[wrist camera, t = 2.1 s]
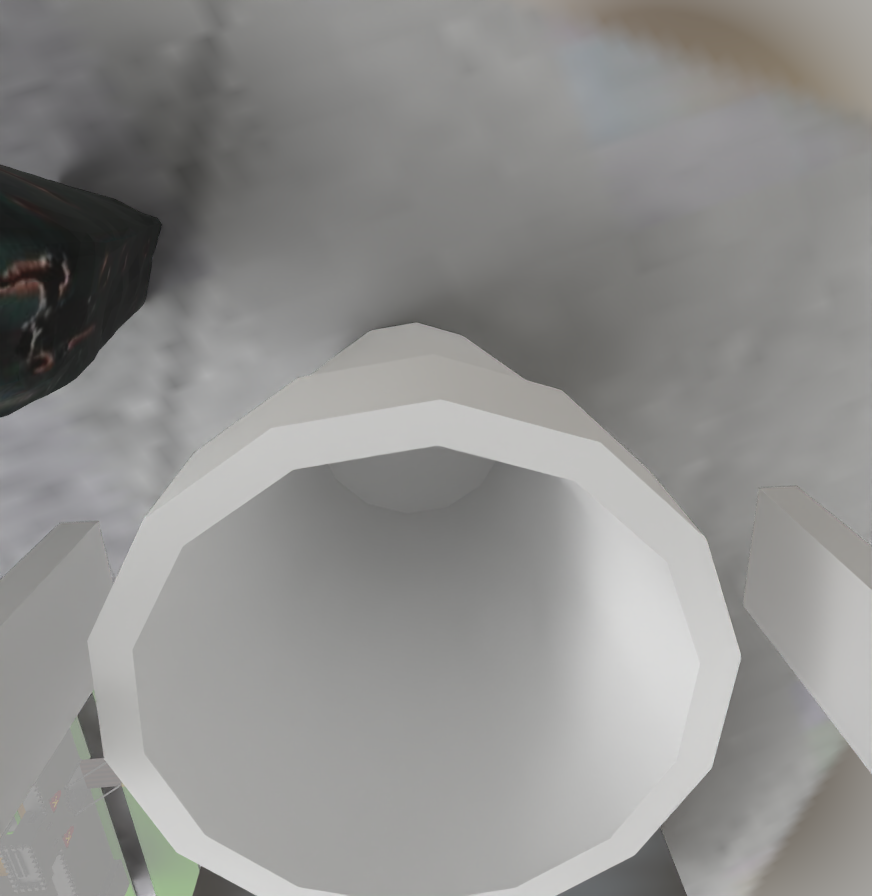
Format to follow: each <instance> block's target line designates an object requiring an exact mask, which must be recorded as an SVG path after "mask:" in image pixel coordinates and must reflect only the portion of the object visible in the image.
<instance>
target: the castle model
mask: <svg viewBox="0 0 872 896" xmlns="http://www.w3.org/2000/svg"><path fill="white" fill-rule="evenodd" d="M92 693H93V696H94V699H95V692H94V690H93V691H92ZM95 702H96V699H95ZM90 758H91V756H90V753H89V750H88V747H87V744H86V741H85V738H84V735H83V732H82V729H81V726H80V723H79V719H78V716H77V717H76V718H75V720H74V721H73V723H72V725H71V726H70V728H69V729H68V731H67V733H66V734H65V736H64V737H63V739H62V740H61V742H60V744H59V745H58V747H57V748H56V750H55V752H54V753H53V755H52V756H51V758H50V759H49V761H48V763H47V764H46V766H45V767H44V769H43V771H42V772H41V774H40V775H39V777H38V778H37V780H36V782H35V783H34V785H33V786H32V788H31V790H30V791H29V793H28V794H27V796H26V797H25V799H24V801H23V802H22V804H21V805H20V807H19V809H18V810H17V812H16V813H15V815H14V817H13V818H12V820H11V821H10V823H9V824H8V826H7V828H6V829H5V831H4V832H3V834H2V836H1V837H0V896H136V893H135V890H134V887H133V884H132V881H131V878H130V875H129V872H128V869H127V866H126V863H125V860H124V857H123V854H122V851H121V848H120V844H119V841H118V838H117V835H116V832H115V829H114V826H113V823H112V820H111V817H110V814H109V811H108V808H107V805H106V802H105V799H104V797H105V796H106V795H108V794H110V793H112V791H114V790H116V789H117V788H118V787H120V786H121V785H122V789H123V792H124V795H125V798H126V801H127V804H128V808H129V811H130V814H131V817H132V820H133V824H134V827H135V830H136V833H137V836H138V840H139V843H140V846H141V849H142V852H143V855H144V859H145V862H146V865H147V868H148V871H149V875H150V878H151V881H152V884H153V887H154V890H155V894H156V896H192V895H193V892H194V889H195V885H196V882H197V878H198V875H199V872H200V869H199V865H198V864H197V863H195V862H193V861H191V860H189V859H188V858H186V857H184V856H182V855H180V854H178V853H177V852H176V851H175V850H174V849H173V847H172V846H171V845H170V843H169V842H168V841H167V840H166V838H165V837H164V836H163V834H162V833H161V832H160V831H159V829H158V828H157V827H156V825H155V824H154V823H153V822H152V820H151V819H150V818H149V816H148V815H147V814H146V813H145V811H144V810H143V809H142V807H141V806H140V805H139V804H138V802H137V801H136V800H135V798H134V797H133V796H132V795H131V793H130V792H129V791H128V789H127V788H126V787H125V786H124V784H123V783H122V782H121V780H120V779H119V778H118V777H117V775H116V774H115V773H114V771H113V770H112V769H111V768H110V766H109V765H108V764H107V762H106V761H105V760H104V758H96V759H90ZM113 786H117V787H115V788H114V789H112V790H110V792H108V793H106V794H104V796H103V793H102V790H101V788H102V787H113Z"/></svg>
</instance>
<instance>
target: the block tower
mask: <svg viewBox="0 0 872 896" xmlns="http://www.w3.org/2000/svg"><path fill="white" fill-rule="evenodd" d="M192 896H256V895H254V894H252V893H251V892H249V891H247V890H245V889H243V888H241V887H239V886H238V885H236V884H234V883H232V882H230V881H228V880H226V879H225V878H223V877H221V876H219V875H217V874H215V873H213V872H212V871H210V870H208V869H206V868H204V867H202V866H201V868H200V872H199V875H198V878H197V882H196V885H195V889H194V892H193V895H192ZM556 896H687V895H686V892H685V890H684V887H683V885H682V882H681V879H680V877H679V874H678V872H677V869H676V867H675V864H674V862H673V859H672V857H671V854H670V852H669V849H668V846H667V844H666V841H665V839H664V836H663V834H662V831H661V829H660V827H659V828H658V829H657V831H656V832H655V833H654V834H653V835H652V836H651V837H650V838H649V840H648V841H647V842H646V843H645V844H644V845H643V846H642V848H641V849H640V850H639V851H638V852H637V853H636V854H635V855H634V856H632V857H630V858H629V859H627V860H625V861H623V862H621V863H619V864H617V865H615V866H613V867H611V868H609V869H607V870H605V871H603V872H601V873H599V874H597V875H595V876H593V877H591V878H589V879H587V880H586V881H584V882H582V883H580V884H578V885H576V886H574V887H572V888H570V889H568V890H566V891H564V892H562V893H560V894H558V895H556Z"/></svg>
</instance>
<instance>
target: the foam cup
mask: <svg viewBox="0 0 872 896" xmlns="http://www.w3.org/2000/svg"><path fill="white" fill-rule="evenodd" d="M87 643H88V650H89V657H90V664H91V671H92V678H93V685H94V692H95V699H96V706H97V713H98V720H99V727H100V734H101V741H102V748H103V755H104V760H105V761H106V762H107V764H108V765H109V766H110V768H111V769H112V770H113V771H114V773H115V774H116V775H117V777H118V778H119V779H120V780H121V782H122V783H123V784H124V786H125V787H126V788H127V789H128V791H129V792H130V793H131V795H132V796H133V797H134V798H135V800H136V801H137V802H138V804H139V805H140V806H141V807H142V809H143V810H144V811H145V813H146V814H147V815H148V816H149V818H150V819H151V820H152V822H153V823H154V824H155V825H156V827H157V828H158V829H159V831H160V832H161V833H162V834H163V836H164V837H165V838H166V840H167V841H168V842H169V843H170V845H171V846H172V847H173V849H174V850H175V851H176V852H177V853H178V854H180V855H182V856H184V857H186V858H188V859H189V860H191V861H193V862H195V863H197V864H199V865H201V866H202V867H204V868H206V869H208V870H210V871H212V872H213V873H215V874H217V875H219V876H221V877H223V878H225V879H226V880H228V881H230V882H232V883H234V884H236V885H238V886H239V887H241V888H243V889H245V890H247V891H249V892H251V893H252V894H254V895H256V896H556V895H558V894H560V893H562V892H564V891H566V890H568V889H570V888H572V887H574V886H576V885H578V884H580V883H582V882H584V881H586V880H587V879H589V878H591V877H593V876H595V875H597V874H599V873H601V872H603V871H605V870H607V869H609V868H611V867H613V866H615V865H617V864H619V863H621V862H623V861H625V860H627V859H629V858H630V857H632V856H634V855H635V854H636V853H637V852H638V851H639V850H640V849H641V848H642V846H643V845H644V844H645V843H646V842H647V841H648V840H649V838H650V837H651V836H652V835H653V834H654V833H655V832H656V831H657V829H658V828H659V827H660V826H661V825H662V824H663V823H664V822H665V820H666V819H667V818H668V817H669V816H670V815H671V814H672V813H673V811H674V810H675V809H676V808H677V807H678V806H679V805H680V804H681V802H682V801H683V800H684V799H685V798H686V797H687V796H688V794H689V793H690V792H691V791H692V790H693V789H694V788H695V787H696V785H697V784H698V783H699V782H700V781H701V780H702V779H703V778H704V776H705V775H706V774H707V773H708V772H709V771H710V770H711V769H712V766H713V762H714V758H715V755H716V751H717V747H718V743H719V740H720V736H721V732H722V728H723V725H724V721H725V717H726V713H727V710H728V706H729V702H730V698H731V695H732V691H733V687H734V683H735V680H736V676H737V672H738V668H739V665H740V661H741V653H740V650H739V646H738V643H737V640H736V636H735V633H734V630H733V626H732V623H731V619H730V616H729V613H728V609H727V606H726V603H725V599H724V596H723V592H722V589H721V586H720V582H719V579H718V576H717V572H716V569H715V565H714V562H713V559H712V555H711V552H710V549H709V545H708V542H707V539H706V538H705V536H704V535H703V534H702V533H701V532H700V530H699V529H698V528H697V527H696V526H695V524H694V523H693V522H692V521H691V520H690V518H689V517H688V516H687V515H686V514H685V513H684V511H683V510H682V509H681V508H680V507H679V505H678V504H677V503H676V502H675V501H674V499H673V498H672V497H671V496H670V495H669V493H668V492H667V491H666V490H665V489H664V487H663V486H662V485H661V484H660V483H659V482H658V480H657V479H656V478H655V477H654V476H653V474H652V473H651V472H650V471H649V470H648V469H647V468H646V467H645V466H644V465H643V464H642V463H640V462H639V461H638V460H637V459H636V458H635V457H634V456H633V455H632V454H631V453H630V452H629V451H627V450H626V449H625V448H624V447H623V446H622V445H621V444H620V443H619V442H618V441H617V440H615V439H614V438H613V437H612V436H611V435H610V434H609V433H608V432H607V431H606V430H605V429H604V428H602V427H601V426H600V425H599V424H598V423H597V422H596V421H595V420H594V419H593V418H592V417H590V416H589V415H588V414H587V413H586V412H585V411H584V410H583V409H582V408H581V407H580V406H579V405H577V404H576V403H575V402H574V401H573V400H572V399H571V398H570V397H569V396H568V395H567V394H565V393H564V392H563V391H562V390H560V389H557V388H553V387H549V386H546V385H542V384H539V383H535V382H531V381H528V380H525V379H524V378H522V377H521V376H519V375H518V374H517V373H515V372H514V371H512V370H511V369H509V368H508V367H507V366H505V365H504V364H502V363H501V362H500V361H498V360H497V359H495V358H494V357H492V356H491V355H490V354H488V353H487V352H485V351H484V350H482V349H481V348H480V347H478V346H477V345H475V344H474V343H473V342H471V341H470V340H468V339H467V338H465V337H464V336H462V335H459V334H456V333H452V332H449V331H445V330H442V329H438V328H435V327H431V326H428V325H424V324H421V323H417V322H416V323H410V324H404V325H398V326H393V327H387V328H381V329H375V330H371V331H369V332H368V333H366V334H365V335H363V336H362V337H361V338H359V339H358V340H356V341H355V342H354V343H352V344H351V345H349V346H348V347H347V348H345V349H344V350H343V351H341V352H340V353H338V354H337V355H336V356H334V357H333V358H331V359H330V360H329V361H328V362H326V363H325V364H324V365H323V366H321V367H320V368H319V369H318V370H316V371H315V372H314V373H313V374H311V375H308V376H303V377H298V378H297V379H295V380H294V381H292V382H291V383H290V384H288V385H287V386H285V387H284V388H283V389H281V390H280V391H279V392H277V393H276V394H274V395H273V396H272V397H270V398H269V399H267V400H266V401H265V402H263V403H262V404H261V405H259V406H258V407H256V408H255V409H254V410H252V411H251V412H249V413H248V414H247V415H245V416H244V417H243V418H241V419H240V420H238V421H237V422H236V423H234V424H233V425H231V426H230V427H229V428H227V429H226V430H225V431H223V432H222V433H220V434H219V435H218V436H216V437H215V438H213V439H212V440H211V441H209V442H208V443H207V444H205V445H204V446H202V447H201V448H200V449H198V450H197V451H195V452H194V454H193V455H192V456H191V457H190V459H189V460H188V461H187V463H186V464H185V465H184V467H183V468H182V469H181V470H180V472H179V473H178V474H177V476H176V477H175V478H174V480H173V481H172V482H171V484H170V485H169V486H168V487H167V489H166V490H165V491H164V493H163V494H162V495H161V497H160V498H159V499H158V500H157V502H156V503H155V504H154V506H153V507H152V508H151V510H150V511H149V512H148V513H147V515H146V516H145V517H144V519H143V521H142V523H141V525H140V527H139V529H138V531H137V534H136V536H135V538H134V540H133V542H132V544H131V547H130V549H129V551H128V553H127V555H126V558H125V560H124V562H123V564H122V566H121V568H120V571H119V573H118V575H117V577H116V579H115V581H114V584H113V586H112V588H111V590H110V592H109V595H108V597H107V599H106V601H105V603H104V605H103V608H102V610H101V612H100V614H99V616H98V618H97V621H96V623H95V625H94V627H93V629H92V632H91V634H90V636H89V638H88V640H87Z"/></svg>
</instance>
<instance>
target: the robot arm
mask: <svg viewBox="0 0 872 896" xmlns="http://www.w3.org/2000/svg"><path fill="white" fill-rule="evenodd" d="M113 584H114V582H113V578H112V574H111V570H110V566H109V562H108V558H107V554H106V550H105V546H104V542H103V538H102V534H101V529H100V525H99V521H85V522H65V523H59V524H58V525H57V526H56V527H55V528H54V529H53V530H52V531H50V532H49V533H48V534H47V535H46V536H45V537H44V538H43V539H42V540H41V541H40V542H39V543H38V544H37V545H36V546H35V547H34V548H33V549H32V550H31V551H30V552H29V553H28V554H27V555H26V556H25V557H24V558H23V559H21V560H20V561H19V562H18V563H17V564H16V565H15V566H14V567H13V568H12V569H11V570H10V571H9V572H8V573H7V574H6V575H5V576H4V577H3V578H2V579H1V580H0V837H1V836H2V834H3V832H4V831H5V829H6V828H7V826H8V824H9V823H10V821H11V820H12V818H13V817H14V815H15V813H16V812H17V810H18V809H19V807H20V805H21V804H22V802H23V801H24V799H25V797H26V796H27V794H28V793H29V791H30V790H31V788H32V786H33V785H34V783H35V782H36V780H37V778H38V777H39V775H40V774H41V772H42V771H43V769H44V767H45V766H46V764H47V763H48V761H49V759H50V758H51V756H52V755H53V753H54V752H55V750H56V748H57V747H58V745H59V744H60V742H61V740H62V739H63V737H64V736H65V734H66V733H67V731H68V729H69V728H70V726H71V725H72V723H73V721H74V720H75V718H76V717H77V715H78V714H79V712H80V710H81V709H82V707H83V706H84V704H85V702H86V701H87V699H88V698H89V696H90V695H91V693H92V691H93V690H94V685H93V678H92V671H91V664H90V657H89V650H88V643H87V640H88V638H89V636H90V634H91V632H92V629H93V627H94V625H95V623H96V621H97V618H98V616H99V614H100V612H101V610H102V608H103V605H104V603H105V601H106V599H107V597H108V595H109V592H110V590H111V588H112V586H113ZM742 605H743V606H744V608H745V609H746V610H747V612H748V613H749V614H750V616H751V617H752V618H753V620H754V621H755V622H756V623H757V625H758V626H759V627H760V629H761V630H762V631H763V633H764V634H765V635H766V637H767V638H768V639H769V640H770V642H771V643H772V644H773V646H774V647H775V648H776V650H777V651H778V652H779V654H780V655H781V656H782V658H783V659H784V660H785V661H786V663H787V664H788V665H789V667H790V668H791V669H792V671H793V672H794V673H795V675H796V676H797V677H798V678H799V680H800V681H801V682H802V684H803V685H804V686H805V688H806V689H807V690H808V692H809V693H810V694H811V695H812V697H813V698H814V699H815V701H816V702H817V703H818V705H819V706H820V707H821V709H822V710H823V711H824V712H825V714H826V715H827V716H828V718H829V719H830V720H831V722H832V723H833V724H834V726H835V727H836V728H837V730H838V731H839V732H840V733H841V735H842V736H843V737H844V739H845V740H846V741H847V743H848V744H849V745H850V747H851V748H852V749H853V750H854V752H855V753H856V754H857V756H858V757H859V758H860V760H861V761H862V762H863V764H864V765H865V766H866V767H867V769H868V770H869V771H870V773H871V774H872V546H871V545H870V544H868V543H867V542H866V541H865V540H863V539H862V538H861V537H860V536H858V535H857V534H856V533H855V532H853V531H852V530H851V529H850V528H848V527H847V526H846V525H845V524H844V523H842V522H841V521H840V520H839V519H837V518H836V517H835V516H834V515H832V514H831V513H830V512H829V511H827V510H826V509H825V508H824V507H822V506H821V505H820V504H819V503H818V502H816V501H815V500H814V499H813V498H811V497H810V496H809V495H808V494H806V493H805V492H804V491H803V490H801V489H800V488H799V487H798V486H783V487H763V488H759V489H758V496H757V503H756V511H755V518H754V525H753V532H752V540H751V547H750V554H749V561H748V568H747V576H746V583H745V590H744V597H743V604H742Z"/></svg>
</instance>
